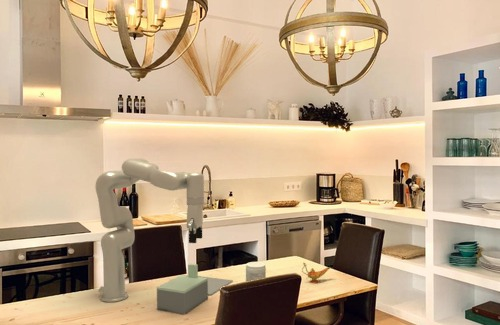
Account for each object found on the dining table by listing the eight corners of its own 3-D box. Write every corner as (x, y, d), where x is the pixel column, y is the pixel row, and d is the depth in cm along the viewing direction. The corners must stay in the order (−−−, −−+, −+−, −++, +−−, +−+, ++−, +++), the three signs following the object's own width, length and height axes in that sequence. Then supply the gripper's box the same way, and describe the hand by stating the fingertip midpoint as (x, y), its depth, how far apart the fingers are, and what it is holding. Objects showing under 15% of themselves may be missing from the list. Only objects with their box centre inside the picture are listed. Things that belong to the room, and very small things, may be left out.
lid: (156, 291, 182) (156, 273, 182) (182, 278, 200) (181, 262, 200) (184, 295, 176) (184, 276, 176) (207, 282, 195) (207, 265, 195)
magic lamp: (334, 281, 221) (334, 260, 221) (305, 285, 215) (305, 264, 214) (327, 277, 228) (327, 257, 227) (298, 281, 221) (298, 261, 221)
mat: (172, 289, 209) (172, 288, 209) (197, 276, 231) (197, 275, 231) (211, 295, 200) (211, 294, 200) (233, 281, 222) (233, 280, 222)
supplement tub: (245, 291, 206) (244, 261, 206) (264, 290, 207) (264, 261, 206) (246, 298, 196) (246, 267, 196) (267, 297, 197) (266, 266, 197)
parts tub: (157, 309, 182) (156, 289, 182) (182, 295, 201) (182, 276, 200) (184, 314, 177) (184, 293, 176) (207, 299, 195) (207, 280, 195)
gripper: (192, 199, 191) (192, 236, 191) (180, 203, 174) (181, 244, 174) (208, 199, 190) (208, 236, 190) (198, 203, 173) (198, 245, 173)
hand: (195, 240), depth 182 cm, fingers open, 9 cm apart
